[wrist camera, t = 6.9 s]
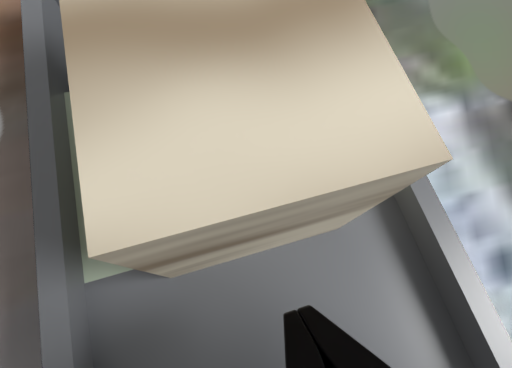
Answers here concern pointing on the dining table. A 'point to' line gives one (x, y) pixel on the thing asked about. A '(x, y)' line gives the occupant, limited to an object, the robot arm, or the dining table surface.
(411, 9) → the dining table surface
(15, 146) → the dining table surface
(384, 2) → the dining table surface
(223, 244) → the birch block
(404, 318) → the grey shallow rectangular tray
